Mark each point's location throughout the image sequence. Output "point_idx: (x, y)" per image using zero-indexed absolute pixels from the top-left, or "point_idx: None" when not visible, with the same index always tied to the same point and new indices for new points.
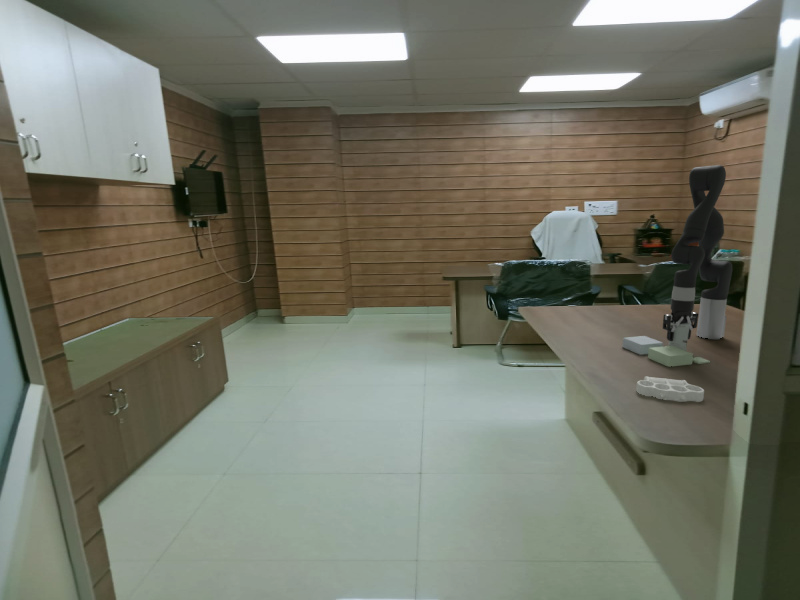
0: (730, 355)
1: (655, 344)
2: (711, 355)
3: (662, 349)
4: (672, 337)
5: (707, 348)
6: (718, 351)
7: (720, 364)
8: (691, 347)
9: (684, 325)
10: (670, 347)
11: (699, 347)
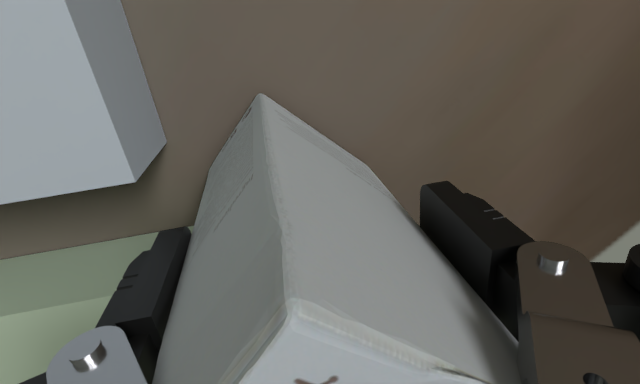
0: (600, 245)
1: (24, 194)
2: None
3: (20, 376)
4: None
5: (629, 84)
6: (621, 165)
7: None
8: (540, 33)
9: None
10: None
11: (601, 46)
